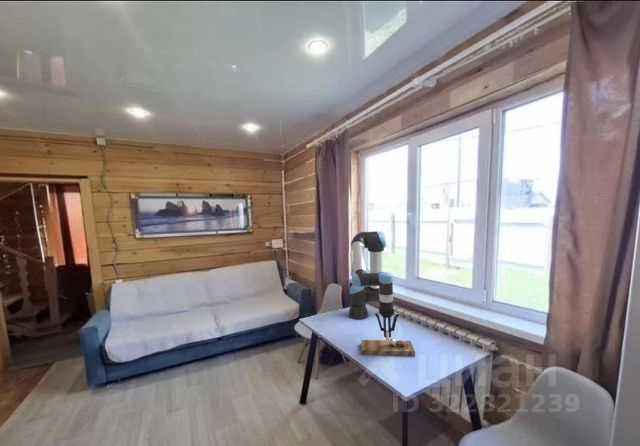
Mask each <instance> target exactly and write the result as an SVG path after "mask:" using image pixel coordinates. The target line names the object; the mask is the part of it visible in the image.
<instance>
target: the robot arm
mask: <svg viewBox="0 0 640 446" xmlns="http://www.w3.org/2000/svg"><path fill="white" fill-rule="evenodd" d="M385 248H387V239H386V236H385V233H384V232H383V231H375V230H374V231H360V232H358V233H357V234H356V235H355V236H353V238H352V240H351V242H350V249H351V251H352V261H353V272H354V273H351V284H352V285H351V286H350V288H349V299H350V300H349V302H350V304H349V305H350V306H349V309H348V317H349V318H350V319H353V320H364V319H367V318H369V314H370V313H369V311H368V308H367V303H379V309H378V311H377V312H375V313H374V315H375V317H376V319H377V322H378V325H379V329H380V331H381V332H383V337H384V338H385V340H386V344H389V340H390V339H391V338H392V332H394V331H395V329H396V328H395V327H396V324H397V319H398V317H399V316H400V315H399V313H398V312H396V311H395V309H394V292H393V291H394V287H393V281H394V279H393V274H392V273H391V272H385V271H383V262H382V261H383V257H382V256H383V254H382V253H383V252H384V250H385ZM365 249H367V251H368V252H369V273H368V271H367V264H366V257H365ZM380 316H381V317H382V319H383V321H382V322H381V318H380ZM392 317H393V319H391V318H392ZM391 320H392V321H391ZM391 322H392V323H391ZM382 323H383V325H382ZM387 327H388V328H387ZM387 329H388V330H387Z"/></svg>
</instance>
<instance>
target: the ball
mask: <svg viewBox="0 0 640 446" xmlns="http://www.w3.org/2000/svg"><path fill="white" fill-rule="evenodd" d="M396 341H397V340H396V338H393V337H391V338H389V344H390V345H391V346H395V345H396V343H397V342H396Z"/></svg>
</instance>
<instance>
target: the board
mask: <svg viewBox="0 0 640 446" xmlns="http://www.w3.org/2000/svg"><path fill="white" fill-rule="evenodd" d="M396 342H397V343H396V345H395V346H391V345H390V344H386V339H385V340H383V339H382V340H380V339H379V340H378V339H377V340H376V339H375V340H374V339H361V342H360V343H361V344H360V345H361V355H362V356H363V355H364V356H392V357H393V356H394V357H395V356H396V357H398V356H399V357H402V356H403V357H416V351H415V348H414V345H413V344H412V341H411V340H396Z"/></svg>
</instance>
